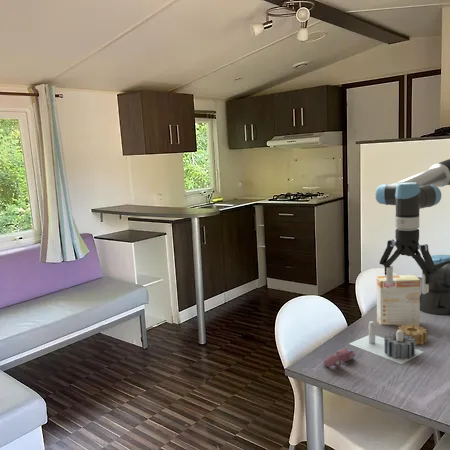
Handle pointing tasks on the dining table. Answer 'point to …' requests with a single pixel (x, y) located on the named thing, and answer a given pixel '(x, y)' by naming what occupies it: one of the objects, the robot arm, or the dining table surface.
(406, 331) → the wooden gear
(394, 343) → the gear
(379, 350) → the gear board
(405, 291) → the coffeecake box
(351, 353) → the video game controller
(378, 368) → the dining table surface
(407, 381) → the dining table surface
